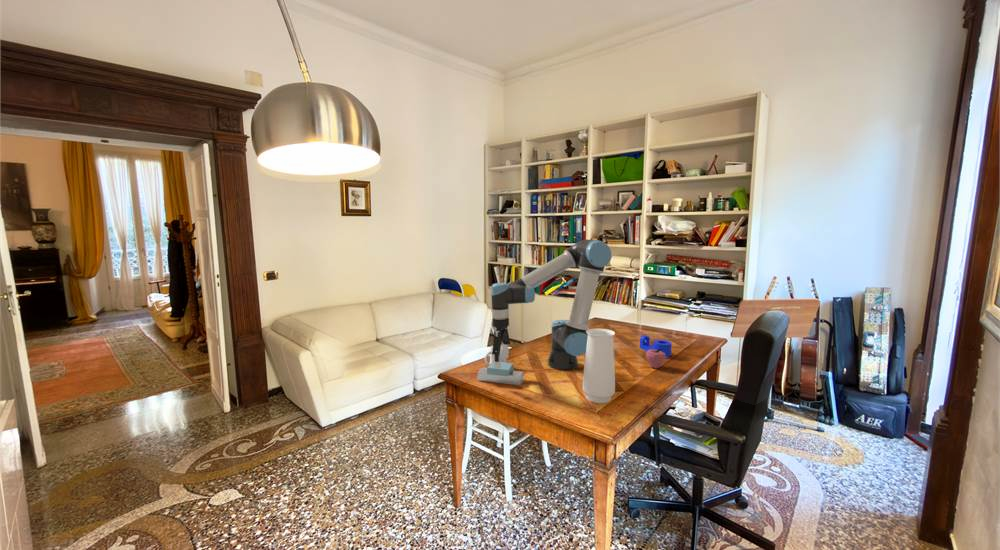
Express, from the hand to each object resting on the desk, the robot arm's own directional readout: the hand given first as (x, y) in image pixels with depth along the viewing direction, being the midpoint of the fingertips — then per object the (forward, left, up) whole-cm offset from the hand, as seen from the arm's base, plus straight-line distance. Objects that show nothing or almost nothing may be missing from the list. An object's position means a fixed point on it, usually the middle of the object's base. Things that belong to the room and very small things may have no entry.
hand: (501, 362), depth 182 cm
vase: (-43, +7, -8) cm, 45 cm away
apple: (-69, -37, -8) cm, 79 cm away
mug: (+8, -14, -8) cm, 18 cm away
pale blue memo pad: (+1, 0, -8) cm, 8 cm away
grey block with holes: (+1, 0, -8) cm, 8 cm away
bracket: (-71, -61, -9) cm, 94 cm away
